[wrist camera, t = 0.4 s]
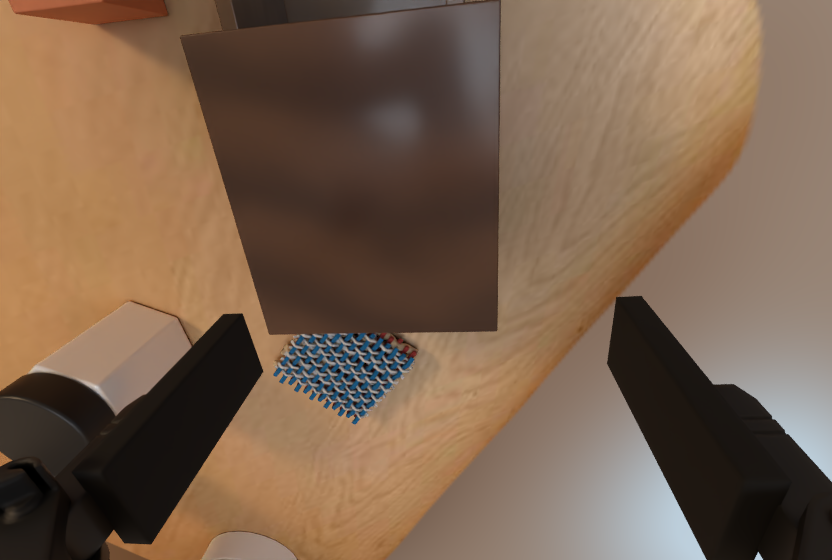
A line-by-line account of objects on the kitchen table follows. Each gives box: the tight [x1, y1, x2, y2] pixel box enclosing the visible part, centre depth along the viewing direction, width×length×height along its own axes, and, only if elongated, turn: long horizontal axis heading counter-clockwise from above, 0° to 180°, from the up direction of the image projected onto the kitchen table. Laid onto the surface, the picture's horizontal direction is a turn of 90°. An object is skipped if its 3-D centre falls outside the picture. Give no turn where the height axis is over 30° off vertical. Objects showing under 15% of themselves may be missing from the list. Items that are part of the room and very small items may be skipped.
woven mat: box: [273, 333, 418, 424], centre depth 36 cm, size 10×11×2 cm
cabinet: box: [180, 0, 501, 335], centre depth 24 cm, size 16×14×10 cm
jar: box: [0, 301, 192, 477], centre depth 33 cm, size 9×8×12 cm
